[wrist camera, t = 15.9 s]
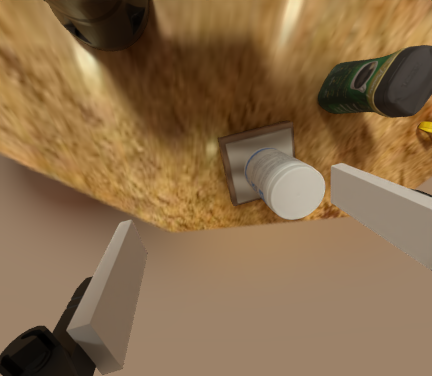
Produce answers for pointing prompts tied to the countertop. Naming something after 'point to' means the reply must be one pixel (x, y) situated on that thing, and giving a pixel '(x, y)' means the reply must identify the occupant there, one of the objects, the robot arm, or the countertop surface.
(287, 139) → the plinth
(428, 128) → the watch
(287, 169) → the supplement tub
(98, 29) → the robot arm
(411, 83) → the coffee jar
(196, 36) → the countertop surface
